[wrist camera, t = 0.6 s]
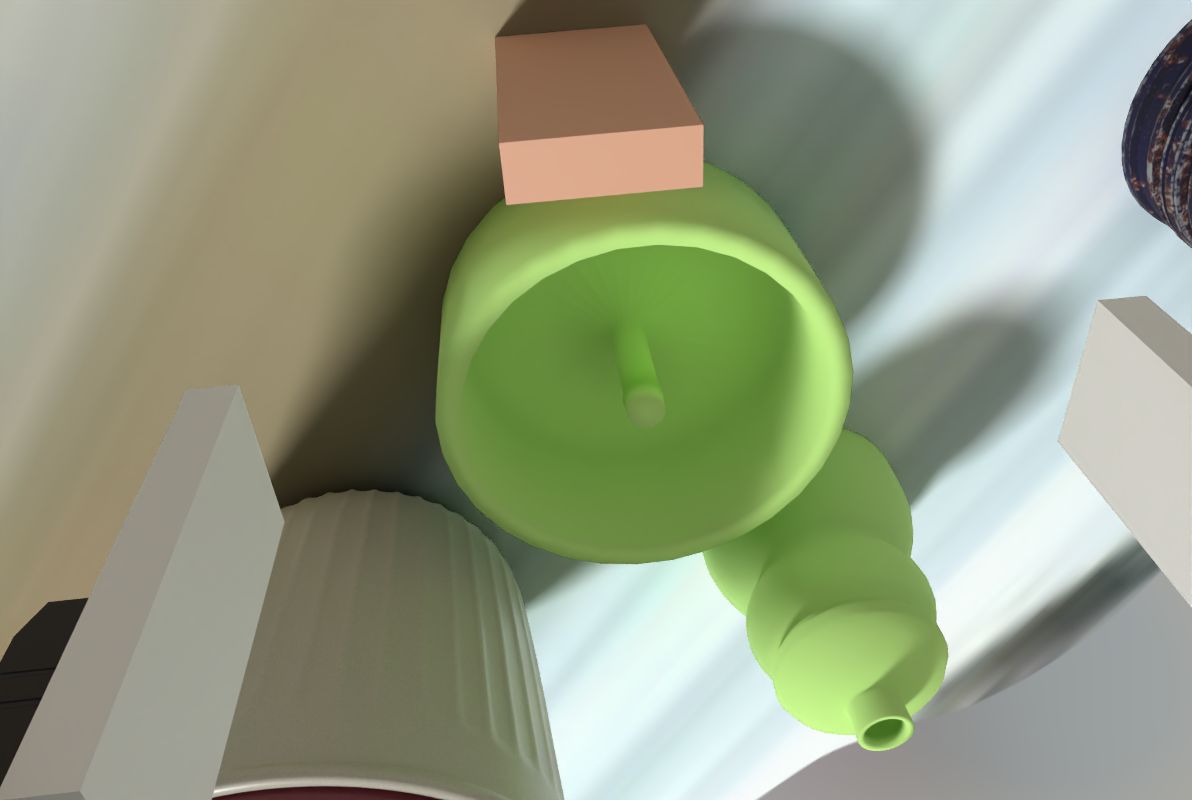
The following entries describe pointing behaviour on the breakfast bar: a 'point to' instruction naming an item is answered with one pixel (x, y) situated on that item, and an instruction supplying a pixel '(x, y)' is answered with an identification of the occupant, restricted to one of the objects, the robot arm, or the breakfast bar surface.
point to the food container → (691, 431)
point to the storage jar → (1163, 138)
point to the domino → (593, 116)
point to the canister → (389, 664)
